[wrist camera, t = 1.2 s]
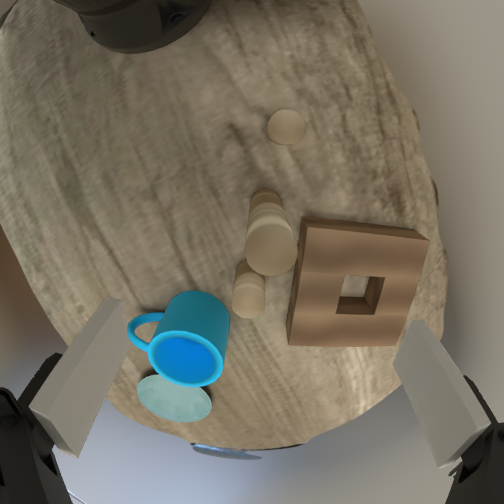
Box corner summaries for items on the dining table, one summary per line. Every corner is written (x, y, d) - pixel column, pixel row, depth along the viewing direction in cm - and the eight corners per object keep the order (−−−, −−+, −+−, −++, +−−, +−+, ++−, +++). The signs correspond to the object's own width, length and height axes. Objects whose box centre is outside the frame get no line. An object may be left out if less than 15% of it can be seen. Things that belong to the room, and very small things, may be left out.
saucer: (223, 381, 41) (222, 392, 39) (200, 420, 45) (198, 430, 43) (148, 353, 39) (143, 363, 37) (135, 396, 43) (132, 406, 41)
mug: (233, 295, 35) (226, 337, 28) (226, 347, 38) (220, 392, 31) (137, 280, 35) (110, 316, 27) (140, 332, 38) (120, 372, 30)
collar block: (301, 216, 31) (308, 227, 28) (413, 229, 32) (430, 240, 28) (285, 325, 37) (288, 345, 33) (385, 327, 37) (395, 345, 33)
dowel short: (267, 112, 28) (269, 107, 23) (299, 116, 28) (307, 111, 23) (265, 142, 29) (266, 142, 24) (296, 146, 29) (303, 147, 24)
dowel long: (251, 187, 30) (247, 224, 17) (282, 190, 30) (301, 229, 17) (249, 217, 32) (243, 274, 19) (279, 219, 32) (294, 277, 19)
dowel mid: (237, 258, 33) (231, 287, 27) (265, 260, 33) (267, 290, 27) (235, 283, 35) (230, 316, 28) (262, 285, 35) (263, 319, 28)
